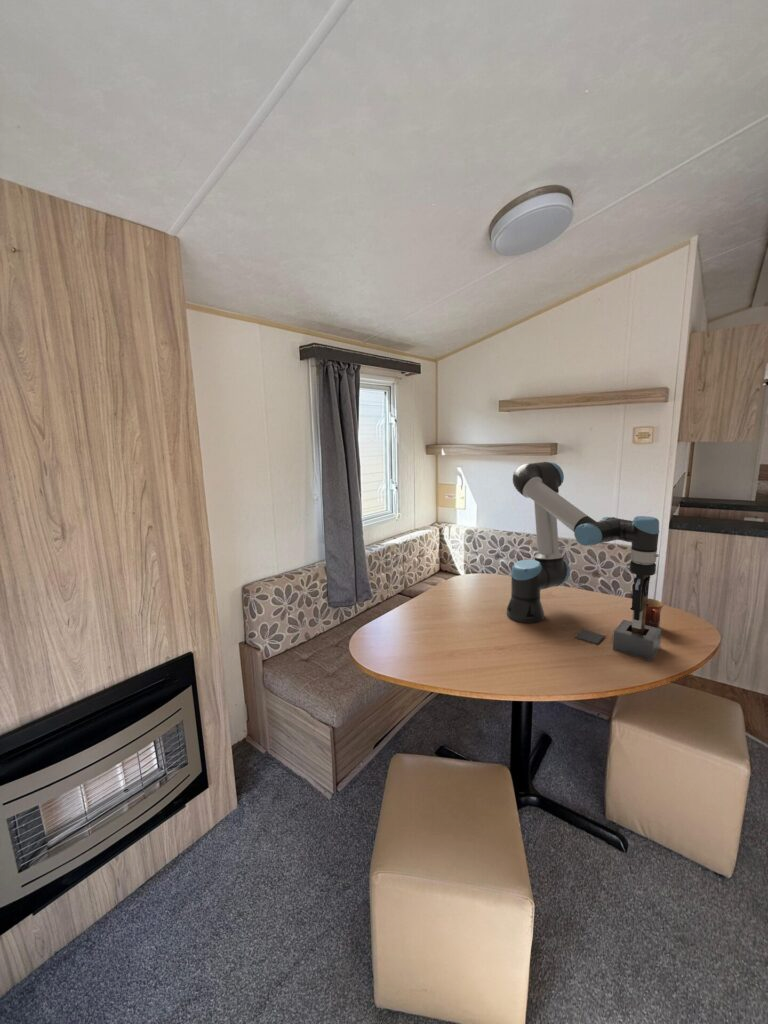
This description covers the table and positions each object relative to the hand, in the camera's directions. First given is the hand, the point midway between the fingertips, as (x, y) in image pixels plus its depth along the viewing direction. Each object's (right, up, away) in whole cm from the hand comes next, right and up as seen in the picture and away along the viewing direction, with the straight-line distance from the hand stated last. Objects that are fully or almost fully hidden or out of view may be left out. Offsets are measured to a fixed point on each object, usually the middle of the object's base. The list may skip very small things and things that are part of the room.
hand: (638, 625), depth 145 cm
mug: (+14, -6, +16) cm, 22 cm away
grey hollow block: (0, -9, +2) cm, 9 cm away
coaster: (-12, -7, +10) cm, 17 cm away
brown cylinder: (0, -5, +1) cm, 5 cm away
